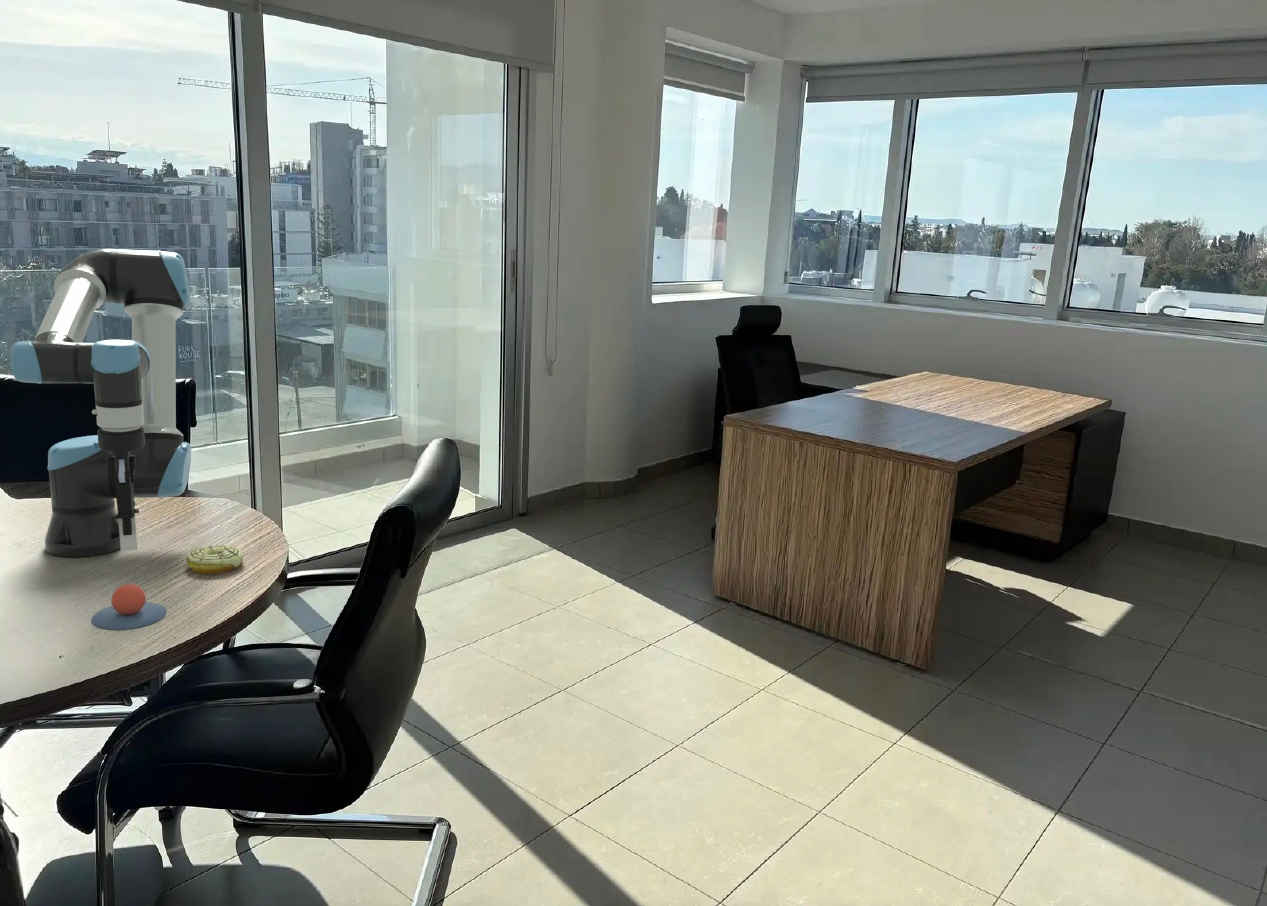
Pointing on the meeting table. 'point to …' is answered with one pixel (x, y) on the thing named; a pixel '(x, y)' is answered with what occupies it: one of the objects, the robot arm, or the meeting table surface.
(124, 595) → the ball
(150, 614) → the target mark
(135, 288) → the robot arm
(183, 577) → the meeting table surface
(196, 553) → the decorated donut
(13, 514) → the meeting table surface
